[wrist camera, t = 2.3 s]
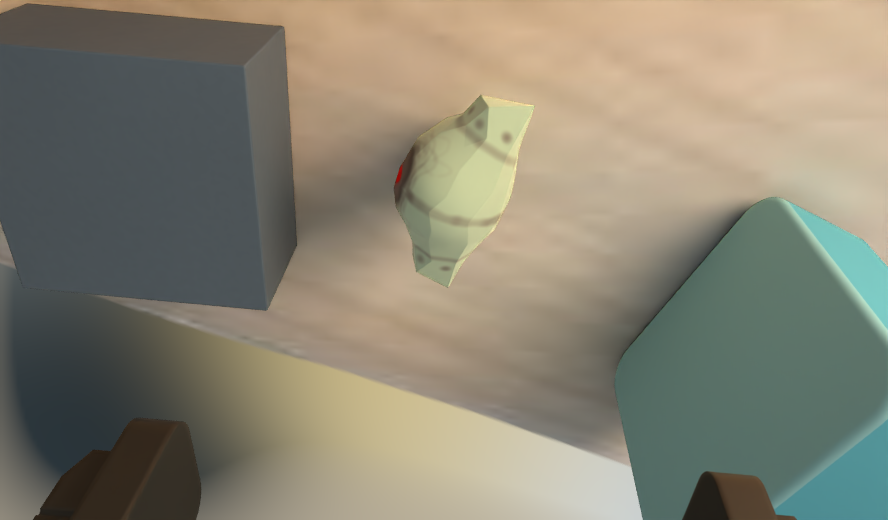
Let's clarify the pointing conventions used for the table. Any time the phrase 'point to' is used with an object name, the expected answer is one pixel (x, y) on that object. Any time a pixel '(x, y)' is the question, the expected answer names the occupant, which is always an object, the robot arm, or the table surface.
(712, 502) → the robot arm
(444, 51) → the table surface
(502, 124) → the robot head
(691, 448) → the teal rounded slab
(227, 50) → the square block
